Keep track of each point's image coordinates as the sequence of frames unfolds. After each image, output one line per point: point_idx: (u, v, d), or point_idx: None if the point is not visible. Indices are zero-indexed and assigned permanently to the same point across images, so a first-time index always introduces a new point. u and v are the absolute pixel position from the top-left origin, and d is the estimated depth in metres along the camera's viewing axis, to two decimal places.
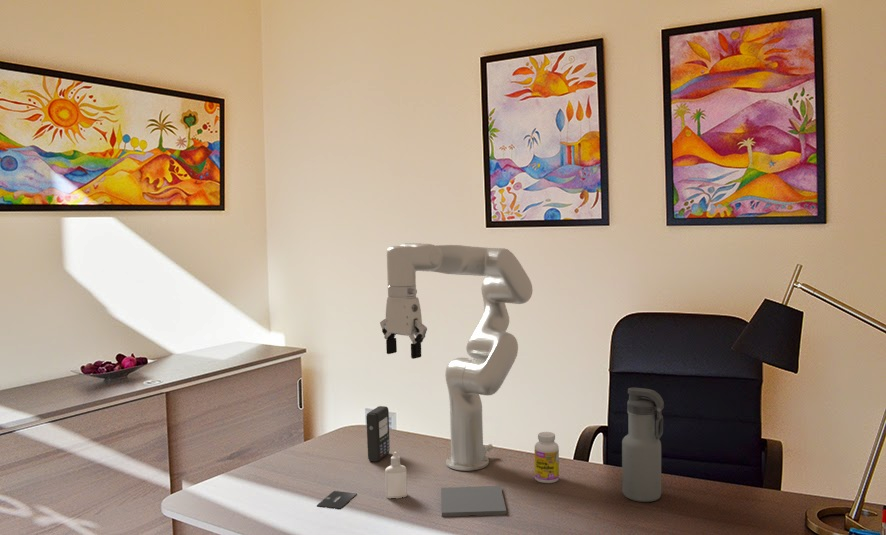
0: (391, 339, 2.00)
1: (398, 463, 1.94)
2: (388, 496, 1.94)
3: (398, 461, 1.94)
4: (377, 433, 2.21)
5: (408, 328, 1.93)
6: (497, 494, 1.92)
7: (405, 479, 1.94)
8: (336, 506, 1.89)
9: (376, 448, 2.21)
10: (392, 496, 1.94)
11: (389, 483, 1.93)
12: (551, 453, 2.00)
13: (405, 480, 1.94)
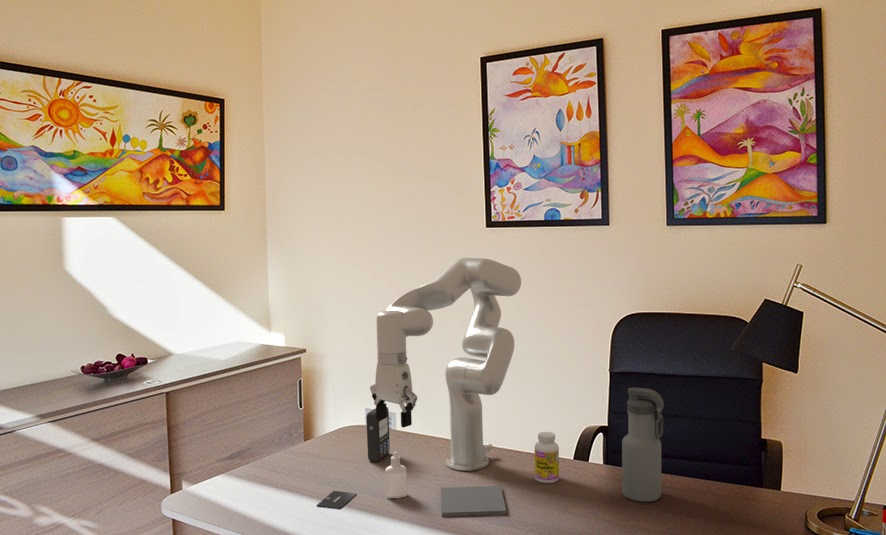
0: (381, 404, 1.96)
1: (398, 463, 1.94)
2: (388, 496, 1.94)
3: (398, 461, 1.94)
4: (377, 433, 2.21)
5: (398, 396, 1.88)
6: (497, 494, 1.92)
7: (405, 479, 1.94)
8: (336, 506, 1.89)
9: (376, 448, 2.21)
10: (392, 496, 1.94)
11: (389, 483, 1.93)
12: (551, 453, 2.00)
13: (405, 480, 1.94)
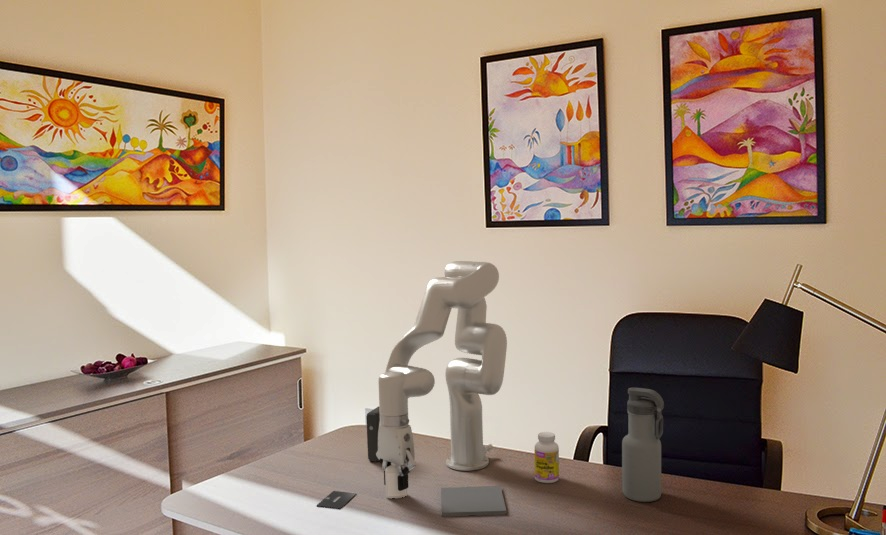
0: None
1: None
2: (388, 496, 1.94)
3: None
4: (377, 433, 2.21)
5: (400, 458, 1.90)
6: (497, 494, 1.92)
7: None
8: (336, 506, 1.89)
9: (376, 448, 2.21)
10: (392, 496, 1.94)
11: (389, 483, 1.93)
12: (551, 453, 2.00)
13: None
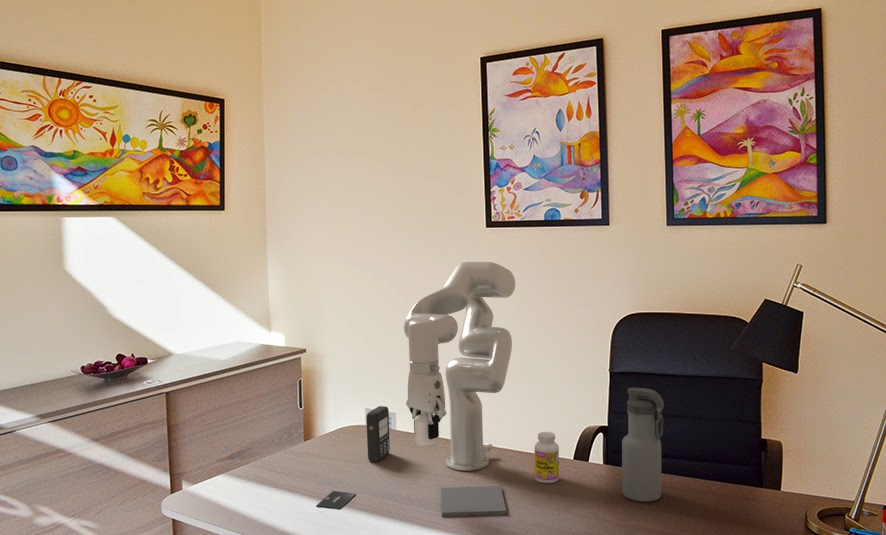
0: None
1: None
2: (418, 445, 1.91)
3: None
4: (377, 433, 2.21)
5: (430, 406, 1.86)
6: (497, 494, 1.92)
7: None
8: (336, 506, 1.89)
9: (376, 448, 2.21)
10: (422, 445, 1.90)
11: (419, 432, 1.90)
12: (551, 453, 2.00)
13: None
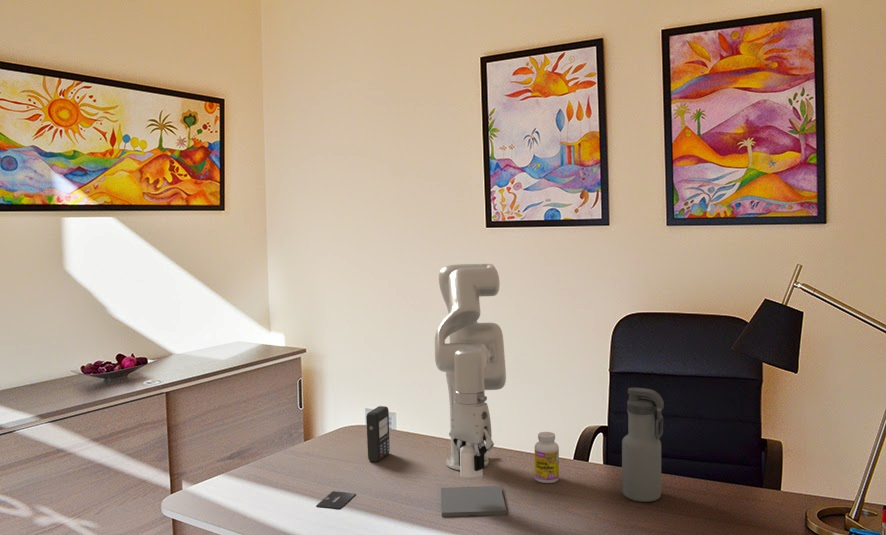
0: None
1: None
2: (463, 477, 1.87)
3: None
4: (377, 433, 2.21)
5: (478, 437, 1.84)
6: (497, 494, 1.92)
7: None
8: (336, 506, 1.89)
9: (376, 448, 2.21)
10: (467, 477, 1.87)
11: (464, 463, 1.87)
12: (551, 453, 2.00)
13: None
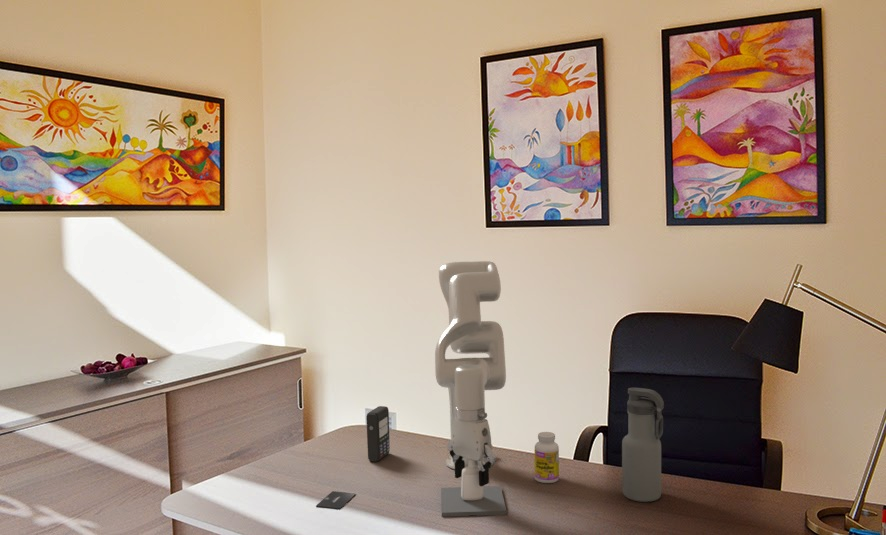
0: (459, 462, 1.92)
1: (476, 464, 1.88)
2: (464, 498, 1.88)
3: (476, 462, 1.88)
4: (377, 433, 2.21)
5: (478, 454, 1.84)
6: (497, 494, 1.92)
7: None
8: (336, 506, 1.89)
9: (376, 448, 2.21)
10: (468, 498, 1.88)
11: (466, 485, 1.88)
12: (551, 453, 2.00)
13: None
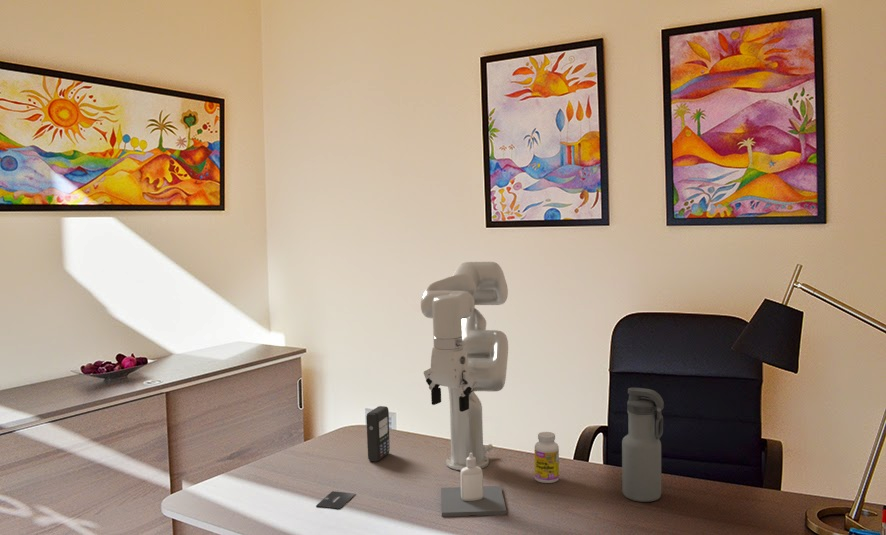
0: (435, 389, 1.96)
1: (474, 464, 1.88)
2: (464, 498, 1.88)
3: (474, 462, 1.88)
4: (377, 433, 2.21)
5: (456, 381, 1.88)
6: (497, 494, 1.92)
7: (481, 481, 1.89)
8: (335, 506, 1.89)
9: (376, 448, 2.21)
10: (468, 498, 1.88)
11: (465, 485, 1.88)
12: (551, 453, 2.00)
13: (481, 482, 1.89)
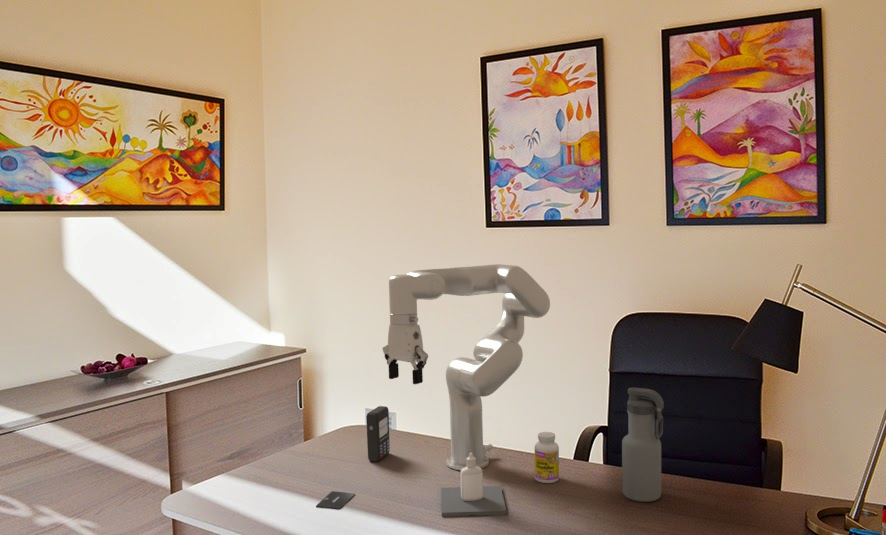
0: (393, 364, 2.07)
1: (474, 464, 1.88)
2: (464, 498, 1.88)
3: (474, 462, 1.88)
4: (377, 433, 2.21)
5: (410, 355, 1.99)
6: (497, 494, 1.92)
7: (481, 481, 1.89)
8: (335, 506, 1.89)
9: (376, 448, 2.21)
10: (468, 498, 1.88)
11: (465, 485, 1.88)
12: (551, 453, 2.00)
13: (481, 482, 1.89)
